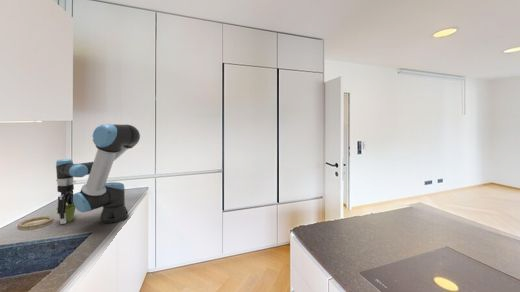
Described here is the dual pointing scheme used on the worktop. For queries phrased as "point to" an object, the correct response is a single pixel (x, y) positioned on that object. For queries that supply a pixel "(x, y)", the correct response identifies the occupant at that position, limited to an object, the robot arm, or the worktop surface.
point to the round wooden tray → (35, 223)
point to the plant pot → (69, 212)
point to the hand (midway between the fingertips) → (67, 220)
